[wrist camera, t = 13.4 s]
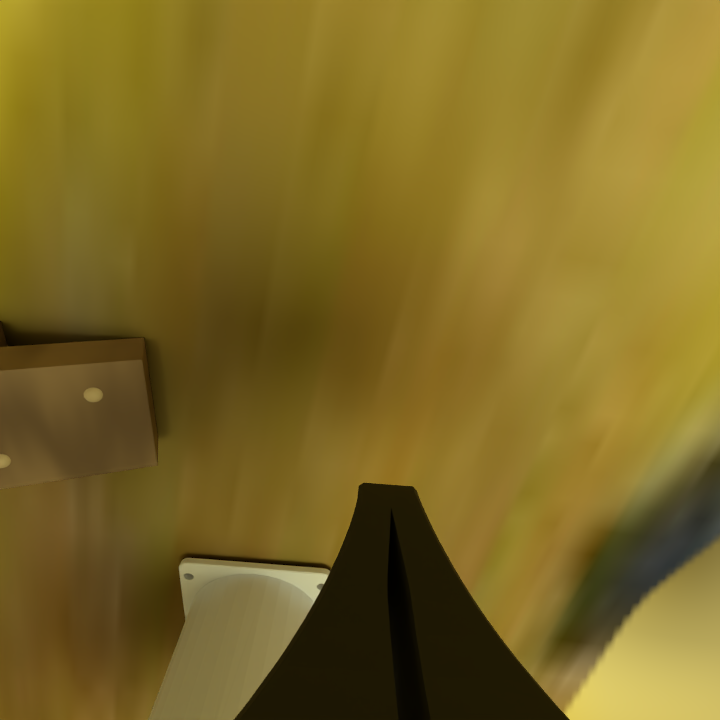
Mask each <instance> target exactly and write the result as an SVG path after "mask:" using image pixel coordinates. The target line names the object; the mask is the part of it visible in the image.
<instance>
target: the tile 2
mask: <svg viewBox="0 0 720 720" xmlns="http://www.w3.org/2000/svg"><path fill="white" fill-rule="evenodd" d="M0 347H8V346H7V342H6V339H5V335H4V332H3V328H2V325H1V321H0Z"/></svg>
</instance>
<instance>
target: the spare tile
mask: <svg viewBox="0 0 720 720" xmlns="http://www.w3.org/2000/svg"><path fill="white" fill-rule="evenodd" d="M157 465H158V433H157V426H156V419H155V411H154V404H153V397H152V390H151V383H150V376H149V369H148V362H147V355H146V347H145V340H144V338H131V339H115V340H100V341H85V342H69V343H54V344H39V345H23V346H8V347H0V490H1V489H7V488H14V487H20V486H27V485H33V484H40V483H46V482H53V481H59V480H66V479H72V478H79V477H85V476H92V475H98V474H105V473H111V472H118V471H124V470H131V469H137V468H144V467H150V466H157Z"/></svg>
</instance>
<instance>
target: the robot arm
mask: <svg viewBox="0 0 720 720" xmlns="http://www.w3.org/2000/svg"><path fill="white" fill-rule="evenodd" d="M179 575H180V582H181V590H182V598H183V606H184V613H185V623H184V626H183V629H182V631H181V634H180V637H179V639H178V642H177V645H176V647H175V650H174V653H173V655H172V658H171V661H170V663H169V666H168V669H167V671H166V674H165V676H164V679H163V682H162V684H161V687H160V690H159V692H158V695H157V698H156V700H155V703H154V706H153V708H152V711H151V714H150V716H149V719H148V720H569V719H568V717H567V716H566V715H565V714H564V713H563V712H562V711H561V710H560V709H559V708H558V707H557V706H556V704H555V703H554V702H553V701H552V700H551V699H550V697H549V696H548V695H547V694H546V693H545V692H544V690H543V689H542V688H541V687H540V686H539V684H538V683H537V682H536V681H535V680H534V679H533V677H532V676H531V675H530V674H529V673H528V672H527V670H526V669H525V668H524V667H523V666H522V664H521V663H520V662H519V661H518V660H517V658H516V657H515V656H514V655H513V653H512V652H511V651H510V649H509V648H508V647H507V645H506V644H505V643H504V642H503V640H502V639H501V638H500V636H499V635H498V634H497V632H496V631H495V630H494V628H493V627H492V625H491V624H490V623H489V621H488V620H487V618H486V617H485V616H484V614H483V613H482V611H481V610H480V608H479V607H478V605H477V604H476V602H475V601H474V599H473V598H472V596H471V595H470V593H469V592H468V590H467V588H466V587H465V585H464V584H463V582H462V580H461V579H460V577H459V575H458V574H457V572H456V570H455V569H454V567H453V565H452V564H451V562H450V560H449V558H448V556H447V554H446V553H445V551H444V549H443V547H442V545H441V543H440V542H439V540H438V538H437V536H436V534H435V532H434V530H433V528H432V526H431V524H430V522H429V519H428V517H427V515H426V513H425V511H424V508H423V506H422V504H421V501H420V499H419V496H418V494H417V491H416V490H415V489H414V487H412V486H399V485H386V484H373V483H363V484H361V485H360V486H359V490H358V499H357V503H356V507H355V511H354V514H353V518H352V521H351V524H350V527H349V529H348V532H347V534H346V537H345V539H344V542H343V544H342V547H341V549H340V552H339V554H338V556H337V558H336V560H335V562H334V565H333V567H332V569H331V571H329V570H328V569H325V568H315V567H302V566H289V565H276V564H264V563H251V562H238V561H225V560H213V559H200V558H185V559H183V560H182V561H181V563H180V565H179Z"/></svg>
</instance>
